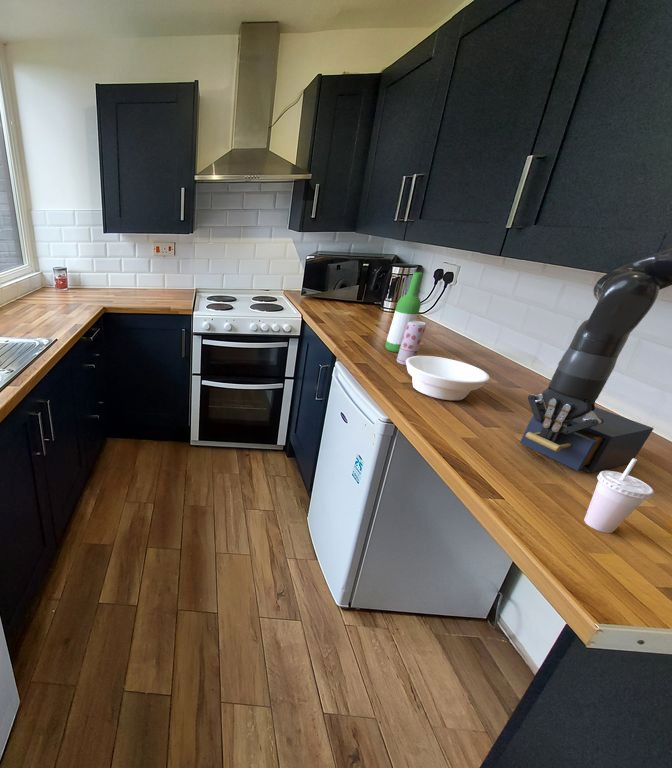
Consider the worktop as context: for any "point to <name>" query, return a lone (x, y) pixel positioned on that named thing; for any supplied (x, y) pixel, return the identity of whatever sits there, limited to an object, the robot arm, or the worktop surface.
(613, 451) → the cabinet
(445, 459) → the worktop surface
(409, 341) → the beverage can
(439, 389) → the bowl
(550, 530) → the worktop surface
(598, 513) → the smoothie
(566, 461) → the drawer
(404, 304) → the wine bottle
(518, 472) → the worktop surface
